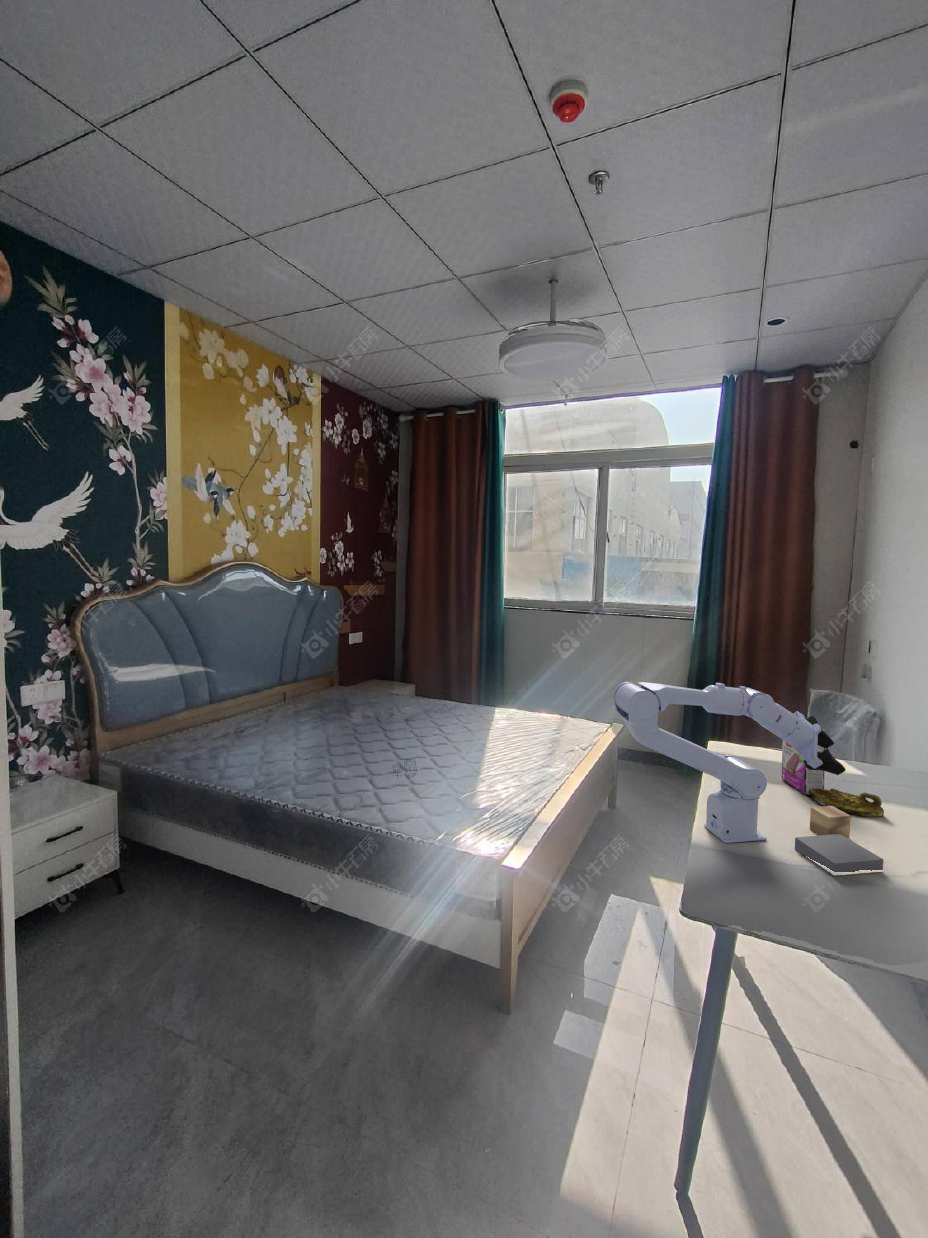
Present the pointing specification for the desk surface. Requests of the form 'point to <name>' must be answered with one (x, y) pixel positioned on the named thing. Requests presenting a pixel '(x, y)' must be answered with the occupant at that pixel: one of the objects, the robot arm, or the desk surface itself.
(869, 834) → the desk surface
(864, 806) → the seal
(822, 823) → the oak cube
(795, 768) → the candy bar box
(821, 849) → the charcoal plinth
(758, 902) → the desk surface
